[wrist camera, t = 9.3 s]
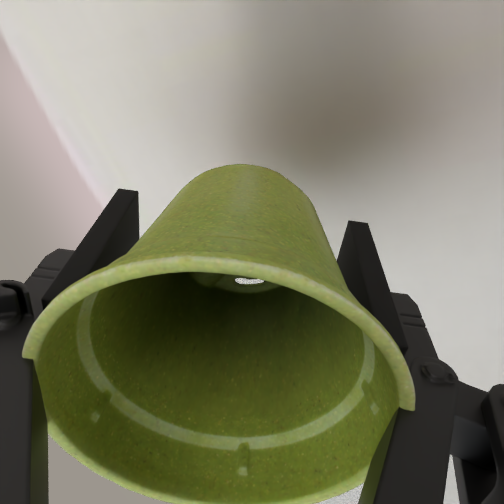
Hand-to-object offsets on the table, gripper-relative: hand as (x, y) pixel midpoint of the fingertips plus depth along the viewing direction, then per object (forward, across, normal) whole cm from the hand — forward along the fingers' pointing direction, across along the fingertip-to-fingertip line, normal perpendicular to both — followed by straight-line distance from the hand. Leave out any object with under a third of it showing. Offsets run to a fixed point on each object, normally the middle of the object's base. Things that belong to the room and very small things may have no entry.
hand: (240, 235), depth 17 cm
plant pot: (0, 0, 0) cm, 1 cm away
